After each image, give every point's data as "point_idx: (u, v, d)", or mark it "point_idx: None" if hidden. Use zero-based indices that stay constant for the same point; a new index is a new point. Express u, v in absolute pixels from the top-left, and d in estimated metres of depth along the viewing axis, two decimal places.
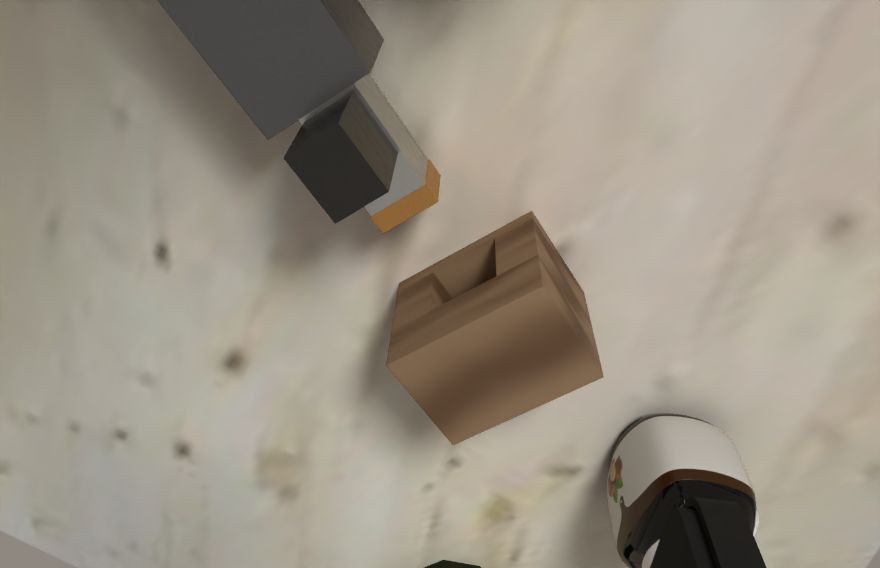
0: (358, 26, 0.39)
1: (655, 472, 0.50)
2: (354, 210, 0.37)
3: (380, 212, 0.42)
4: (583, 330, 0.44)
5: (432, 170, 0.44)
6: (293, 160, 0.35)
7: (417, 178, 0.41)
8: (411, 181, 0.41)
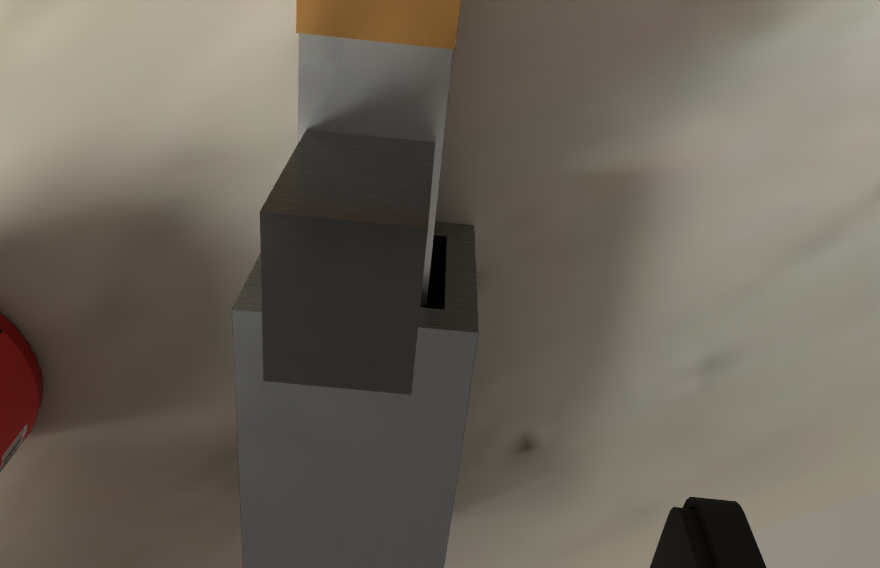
0: None
1: None
2: (364, 225, 0.14)
3: (428, 44, 0.18)
4: None
5: None
6: (397, 381, 0.16)
7: (304, 56, 0.18)
8: (320, 59, 0.18)
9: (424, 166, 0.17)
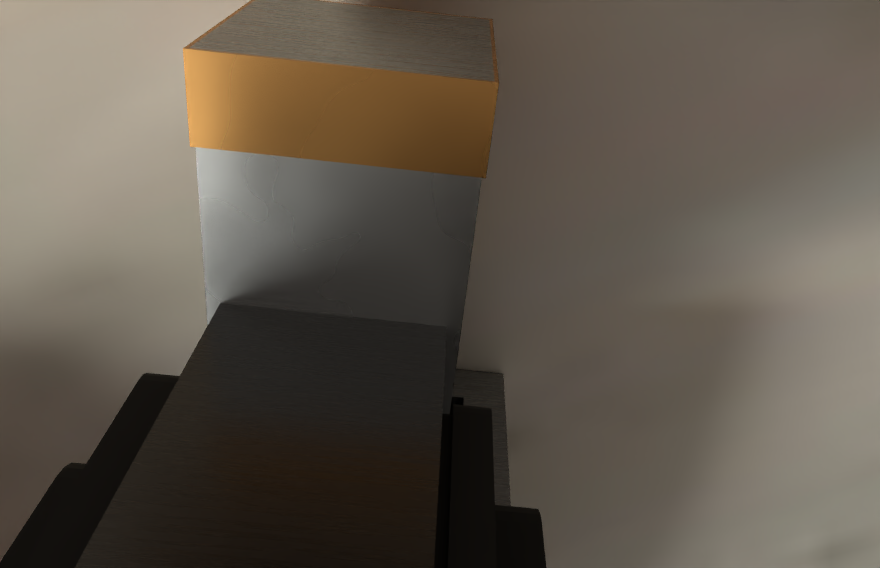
0: None
1: None
2: None
3: (435, 167, 0.09)
4: None
5: None
6: None
7: (209, 186, 0.10)
8: (238, 191, 0.10)
9: (426, 403, 0.09)
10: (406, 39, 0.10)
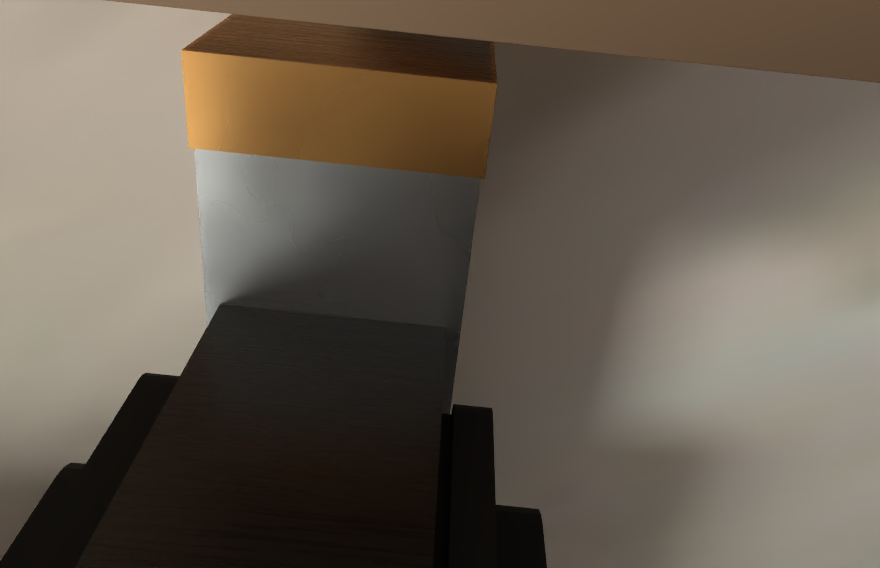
0: None
1: None
2: None
3: (433, 168, 0.09)
4: None
5: None
6: None
7: (207, 187, 0.10)
8: (237, 192, 0.10)
9: (425, 404, 0.09)
10: (405, 40, 0.10)
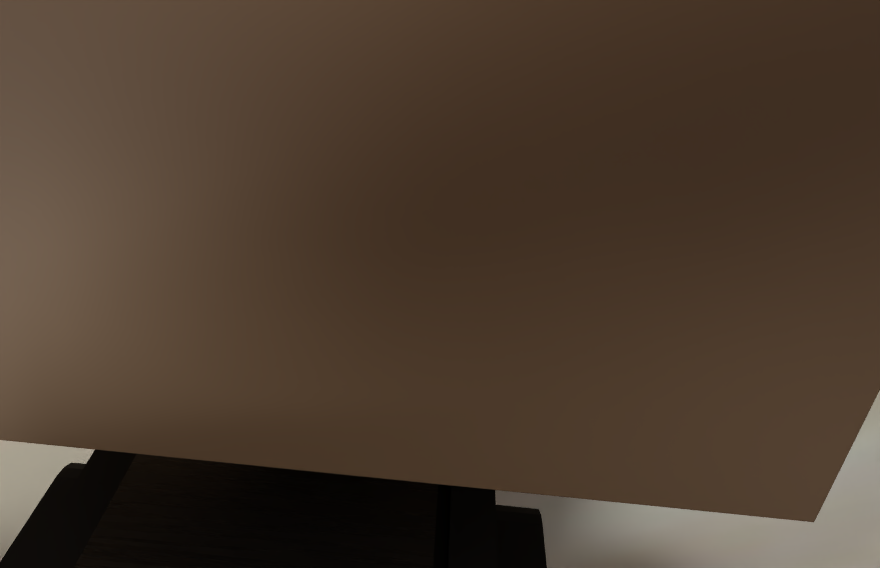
0: None
1: None
2: None
3: None
4: None
5: None
6: None
7: None
8: None
9: None
10: None
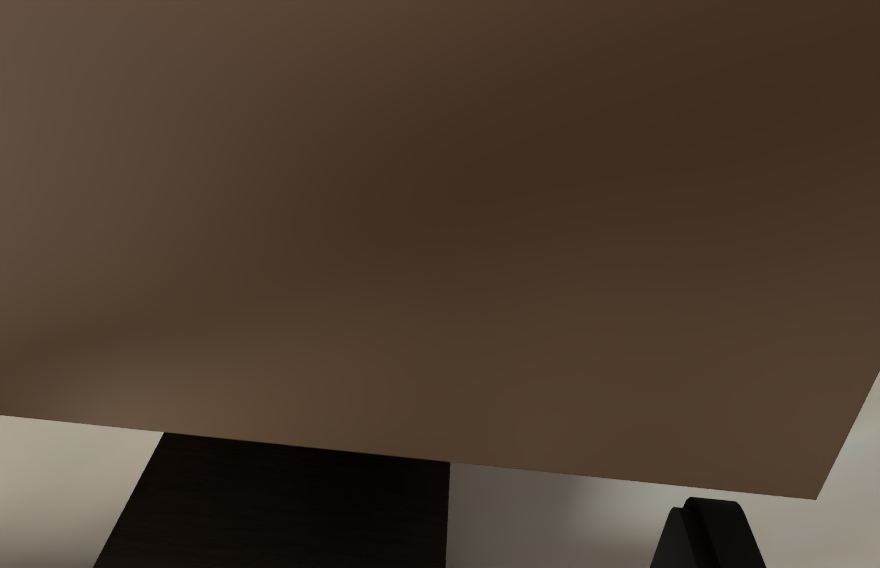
0: None
1: None
2: None
3: None
4: None
5: None
6: None
7: None
8: None
9: None
10: None
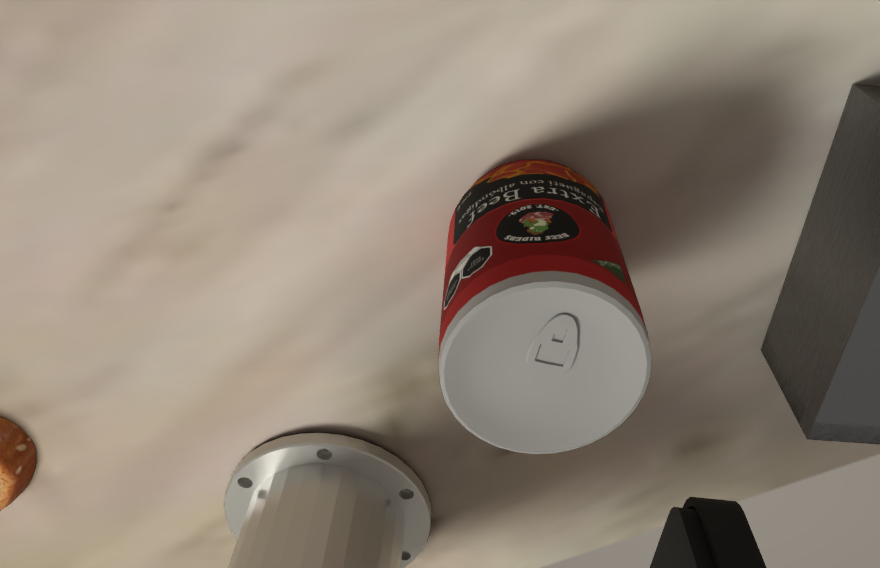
0: (872, 151, 0.30)
1: None
2: None
3: None
4: None
5: None
6: None
7: None
8: None
9: None
10: None
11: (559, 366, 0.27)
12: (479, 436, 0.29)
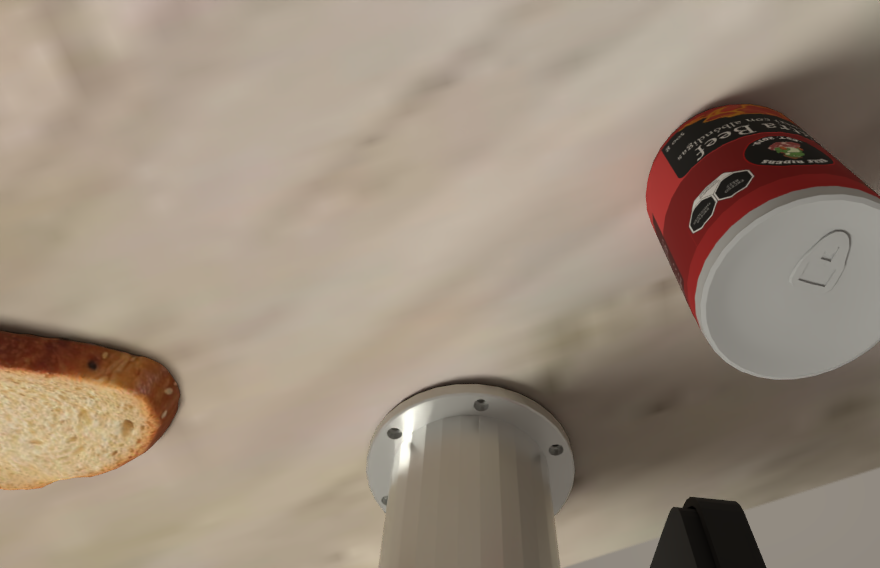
0: None
1: None
2: None
3: None
4: None
5: None
6: None
7: None
8: None
9: None
10: None
11: (821, 286, 0.28)
12: (726, 358, 0.29)
